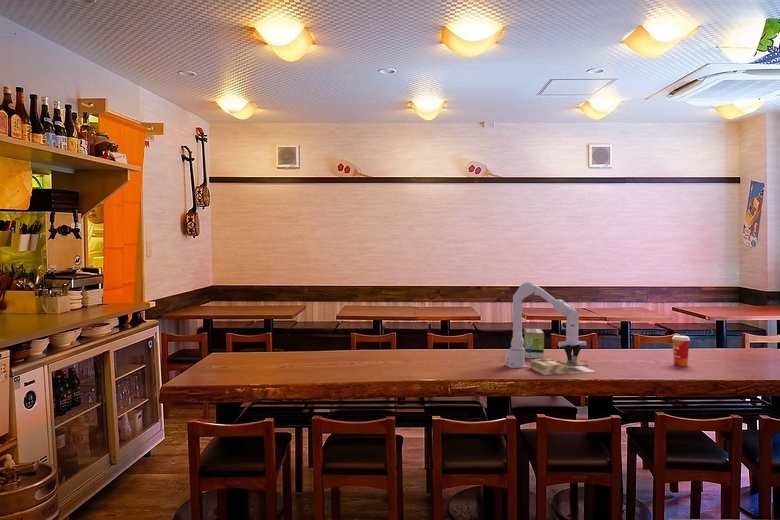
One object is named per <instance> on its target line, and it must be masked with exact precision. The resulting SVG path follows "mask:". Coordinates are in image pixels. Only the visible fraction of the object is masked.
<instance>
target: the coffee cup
mask: <svg viewBox="0 0 780 520" xmlns="http://www.w3.org/2000/svg"><path fill="white" fill-rule="evenodd" d="M671 339H672V353H673V354H672V355H673V365H674V364H675V365H674V366H676V365H679V366H678V367H687V366H688V363H689V362H688V361H689V351H690V350H689V349H690V348H689V346H690V341H691V339H690V337H689V336H687V335H676V334H675V335H673V336H672V338H671Z"/></svg>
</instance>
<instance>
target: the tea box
mask: <svg viewBox="0 0 780 520" xmlns="http://www.w3.org/2000/svg"><path fill="white" fill-rule="evenodd" d="M523 339H524V345H523V347H524V348H525V359H532V358H535V359H534V360H536V359H545V358H544V355H545V354H544V353H545V333H544V331H543V329H542V328H541V329H540V328H524V336H523Z"/></svg>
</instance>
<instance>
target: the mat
mask: <svg viewBox="0 0 780 520" xmlns="http://www.w3.org/2000/svg"><path fill="white" fill-rule="evenodd" d="M586 373H588V374H589V373H596V371H595V370H592V369H590V368H587V367H586V366H577V367H568V366H567V374H586Z"/></svg>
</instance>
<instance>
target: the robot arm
mask: <svg viewBox="0 0 780 520" xmlns="http://www.w3.org/2000/svg"><path fill="white" fill-rule="evenodd" d="M531 295H533V296H539V297H541V298H542V299H544V300H545V301H546V302H548V303H550V304H551V305H552V309H553V310H555V311H556V312H558V313H559V314H560V315H561V316H562V317H563V316H564V317H566V325H565V326H566V329H565V333H566V336H565V338H566V339H565V340H564V341H558V342H557V346H558V347H562V348H563V349H564V352H565V354H566V358H567V360H569V361H571V355H574V356H577V358H579V357H578V356H579V353H580V351H582V347H583V346H587V341H585V340H584V341H583V340H579V319H580V315H579V312H578V311H577V310H576V309H575V308H574V307H573V306H572V305H569V304H567V303H566V301H565V300H564V299H560V298H559V299H556V298H555V297H553V296H552V295H550V294H549V293H548V292H547V291H546V290H544V289H543V288H541V287H540V286H538V285H536V284H534V283H533V282H532V281H526V282H523V283H522V284H521V285H520V286H519V287H518V289H517V290H516V292H515V293H514V294H513V296H512V338H511V341H510V346H511V347H509V349H505V353H504V355H505V356H504V357H505V359H504V366H506V367H508V368H510V369H517V368H518V369H520V368H521V369H522V368H525V369H526V368H529V367H528V365H527V364H525V361H526V360H525V359H526V357H525V348H524V336H523V305H522V304H523V300H524V299H525V298H526V297H528V296H531Z"/></svg>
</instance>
